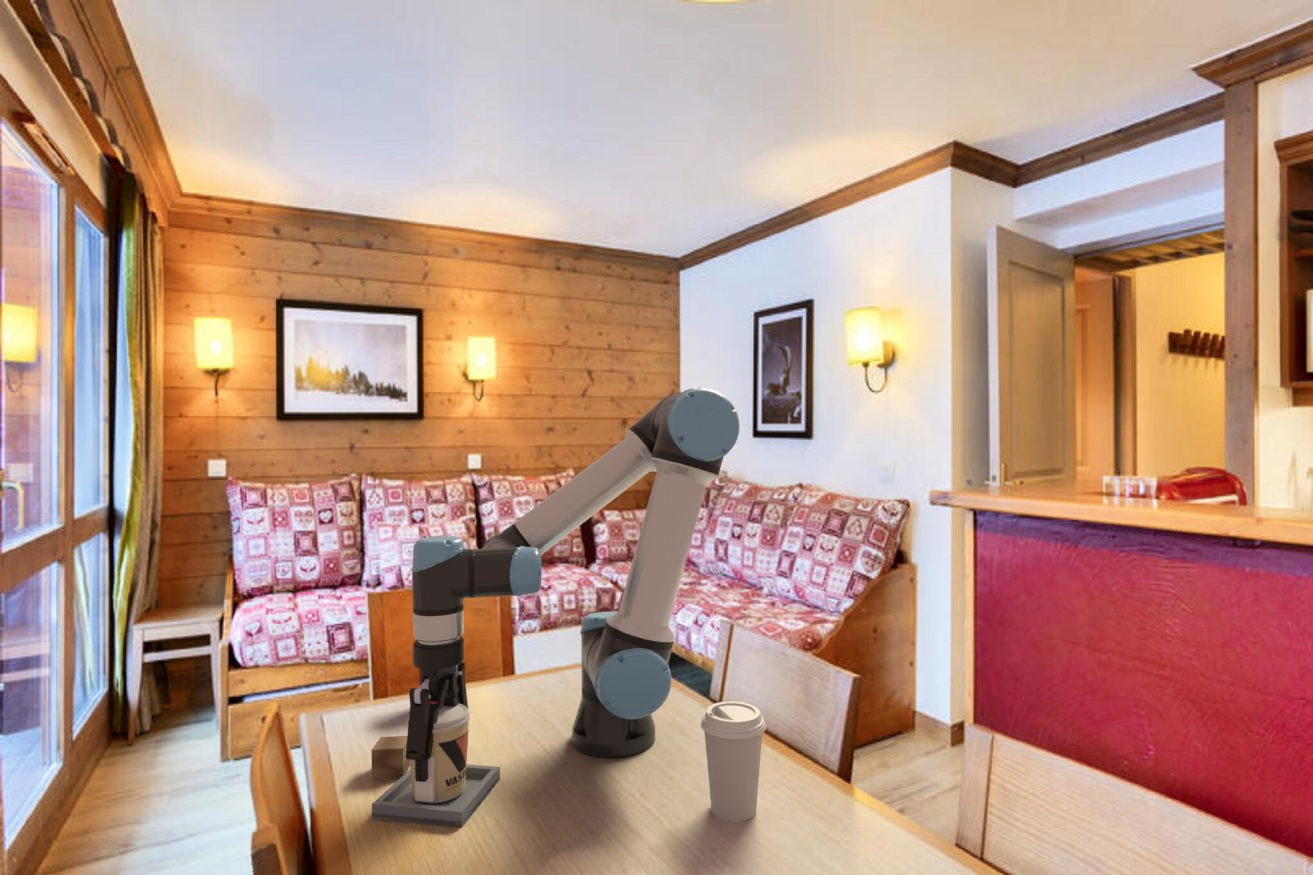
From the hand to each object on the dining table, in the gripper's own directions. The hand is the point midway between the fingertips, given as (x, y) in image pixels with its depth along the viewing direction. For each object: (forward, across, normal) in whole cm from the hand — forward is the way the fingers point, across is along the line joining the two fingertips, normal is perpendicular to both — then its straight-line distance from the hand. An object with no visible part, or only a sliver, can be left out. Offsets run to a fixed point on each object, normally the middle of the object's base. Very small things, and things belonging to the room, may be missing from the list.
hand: (439, 784), depth 109 cm
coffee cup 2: (+2, -3, +45) cm, 45 cm away
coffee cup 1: (+1, 0, 0) cm, 1 cm away
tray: (+2, 0, 0) cm, 2 cm away
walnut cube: (+2, -7, -12) cm, 14 cm away
